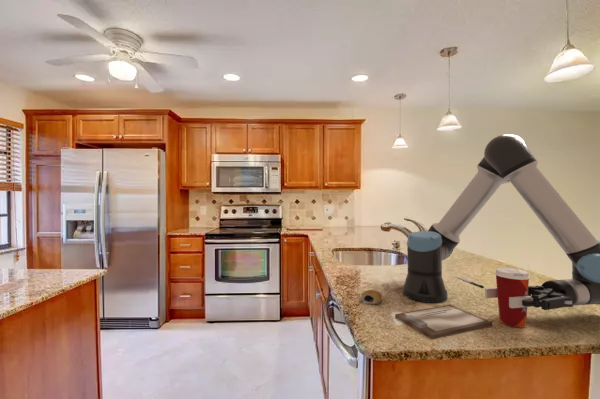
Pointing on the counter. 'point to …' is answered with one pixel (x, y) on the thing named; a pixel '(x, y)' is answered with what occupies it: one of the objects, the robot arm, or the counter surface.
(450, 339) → the counter surface
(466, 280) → the chef's knife
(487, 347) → the counter surface
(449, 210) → the robot arm
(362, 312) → the counter surface
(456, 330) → the brown framed picture
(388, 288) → the counter surface
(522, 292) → the coffee cup
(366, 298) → the pastry
